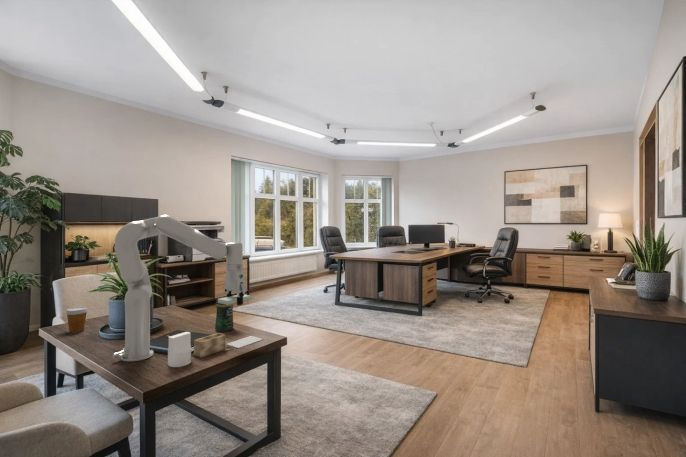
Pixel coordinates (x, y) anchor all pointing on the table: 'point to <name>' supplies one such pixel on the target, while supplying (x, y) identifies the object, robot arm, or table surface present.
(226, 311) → the coffee jar
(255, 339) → the felt mat
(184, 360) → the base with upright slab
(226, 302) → the lid
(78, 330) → the disposable coffee cup
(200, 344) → the pencil box
